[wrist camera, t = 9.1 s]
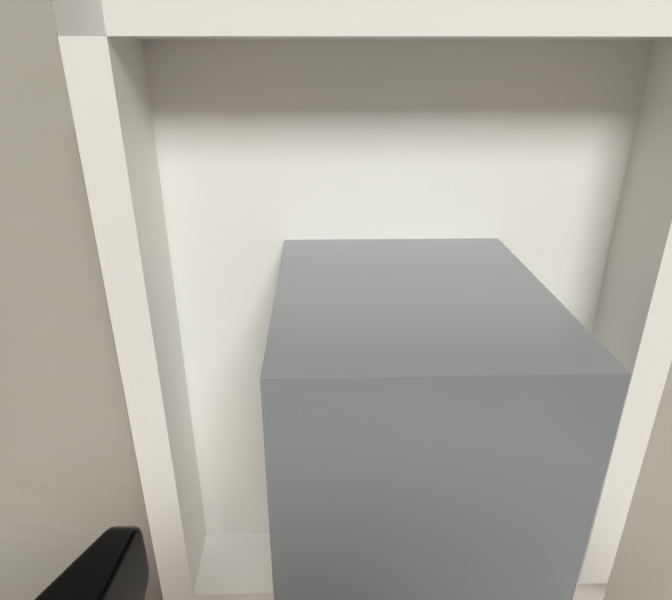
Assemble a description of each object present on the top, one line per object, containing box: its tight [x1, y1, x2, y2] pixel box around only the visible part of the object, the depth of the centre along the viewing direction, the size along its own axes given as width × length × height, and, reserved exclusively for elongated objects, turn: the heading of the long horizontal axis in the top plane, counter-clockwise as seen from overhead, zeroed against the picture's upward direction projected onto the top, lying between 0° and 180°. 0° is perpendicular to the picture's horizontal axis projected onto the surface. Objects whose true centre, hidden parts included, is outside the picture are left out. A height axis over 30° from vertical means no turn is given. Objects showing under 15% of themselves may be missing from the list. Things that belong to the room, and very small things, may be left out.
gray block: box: [260, 238, 631, 600], centre depth 11 cm, size 5×5×6 cm
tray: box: [51, 0, 672, 600], centre depth 13 cm, size 15×12×3 cm
